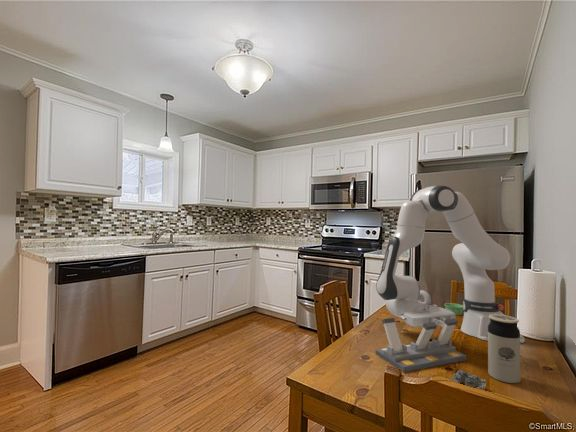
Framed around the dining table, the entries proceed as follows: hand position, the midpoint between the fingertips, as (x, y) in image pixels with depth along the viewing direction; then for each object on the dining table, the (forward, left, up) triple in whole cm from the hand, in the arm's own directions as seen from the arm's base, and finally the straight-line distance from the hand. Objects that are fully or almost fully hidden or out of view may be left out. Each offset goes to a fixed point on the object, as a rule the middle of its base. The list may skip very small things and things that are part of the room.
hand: (447, 324), depth 106 cm
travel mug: (-14, +11, -11) cm, 21 cm away
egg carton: (-2, +24, -11) cm, 26 cm away
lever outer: (+17, +11, -7) cm, 21 cm away
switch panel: (+9, +5, -11) cm, 15 cm away
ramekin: (-12, -61, -11) cm, 64 cm away
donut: (+3, -66, -11) cm, 67 cm away
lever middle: (+9, +5, -7) cm, 12 cm away
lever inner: (+1, -2, -7) cm, 8 cm away
